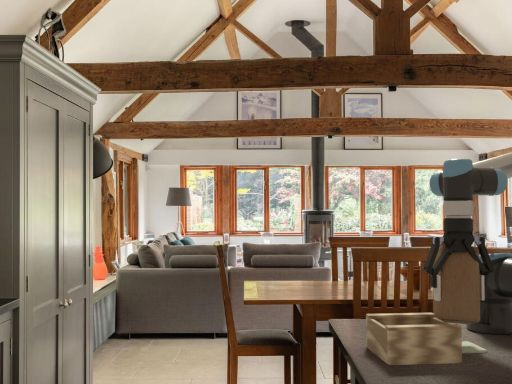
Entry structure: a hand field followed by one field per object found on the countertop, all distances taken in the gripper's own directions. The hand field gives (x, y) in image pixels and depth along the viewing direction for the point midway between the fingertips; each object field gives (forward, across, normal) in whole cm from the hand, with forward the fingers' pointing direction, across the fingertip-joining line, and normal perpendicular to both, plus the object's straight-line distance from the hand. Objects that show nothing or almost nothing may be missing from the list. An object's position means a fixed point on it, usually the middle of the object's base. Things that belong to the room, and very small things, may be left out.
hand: (459, 300), depth 155 cm
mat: (+13, 0, 0) cm, 13 cm away
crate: (+13, +15, +5) cm, 20 cm away
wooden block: (+6, +1, -1) cm, 6 cm away
